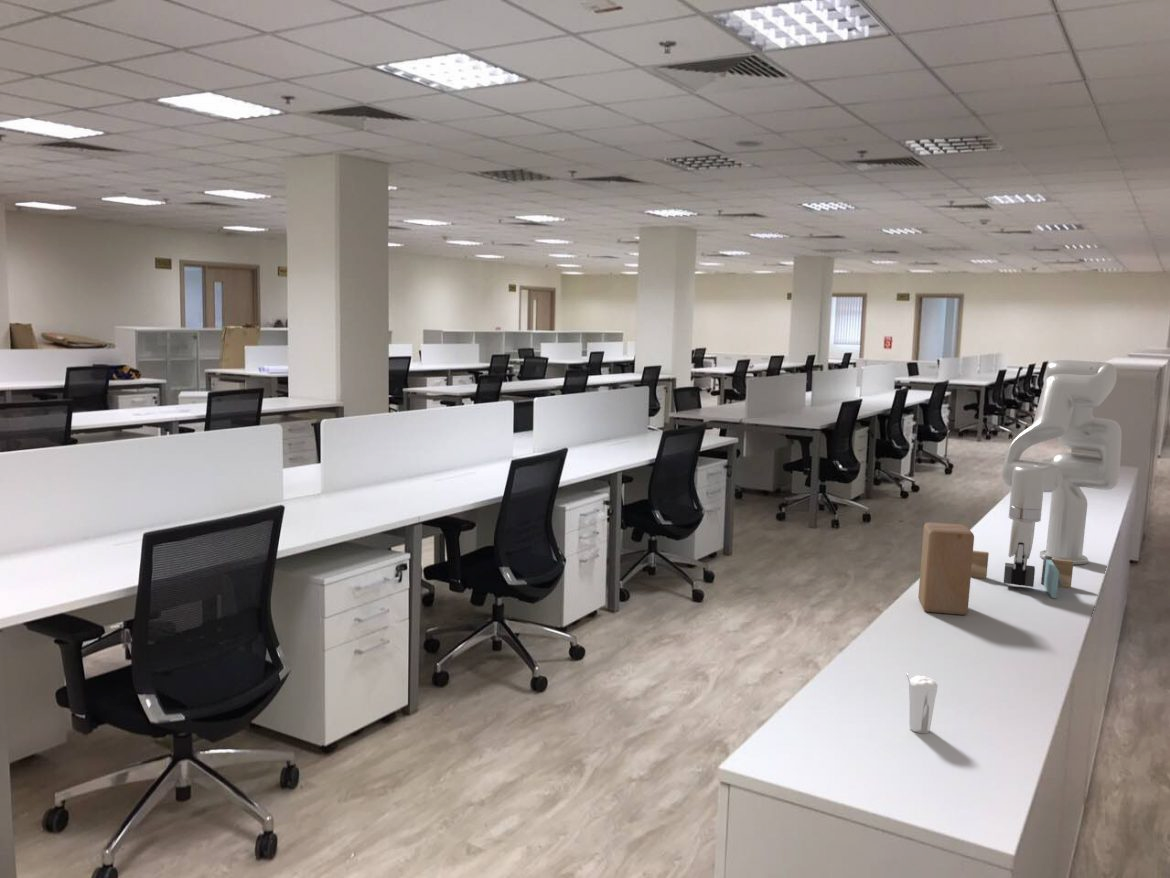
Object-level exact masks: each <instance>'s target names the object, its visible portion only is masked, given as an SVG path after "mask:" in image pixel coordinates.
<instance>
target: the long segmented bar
mask: <svg viewBox="0 0 1170 878" xmlns="http://www.w3.org/2000/svg"><path fill="white" fill-rule="evenodd" d="M1046 559H1047V560H1052V562H1053V563H1054V565H1055V566H1056V568H1057V569H1058V571H1059V579H1064V584H1063V585H1060V584H1058V588H1059V587H1060V588H1070V589H1071V588H1072V581H1073V580H1072V579H1073V571H1074V570H1073V568H1074V564H1073V561H1072V560H1063V559H1053V558H1052V557H1051V556H1044V559H1043V558H1042V571H1041V581H1040V584H1041V585H1043V586H1044V577H1045V567H1046ZM988 566H989V552H988V551H983V550H982V551H979V550H973V557H972V568H971V578H976V579H984V580H987V576H988Z"/></svg>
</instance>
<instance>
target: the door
mask: <svg viewBox="0 0 1170 878" xmlns="http://www.w3.org/2000/svg"><path fill="white" fill-rule="evenodd" d="M1058 584H1060V585H1063V584H1064V579H1059V571H1058V569H1057V568H1056V566H1055V565H1054V563H1053V562H1052V560H1047V559H1046V567H1045V577H1044V585H1043V586H1044V588H1045V589H1046V591H1047V593H1048V594H1049V596H1050V597H1051V598H1053V599H1054V598H1055V599H1057V598H1058V589H1059V586H1058Z"/></svg>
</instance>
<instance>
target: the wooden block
mask: <svg viewBox="0 0 1170 878" xmlns="http://www.w3.org/2000/svg"><path fill="white" fill-rule="evenodd" d="M974 543H975V535H974V532H972V530H970V528H969V527H968V526H967V525H965V524H956V523H944V522H943V523H942V522H929V521H928V522H925V524H923V533H922V545H921V546H922V547H921V557H920V572H919V583H918V584H919V585H918V601H919V603H920V604H921V607H922V609H923V611H924V612H927V613H937V614H949V615H960V616H963V615H967V613H968V611H969V602H970V600H969V599H970V589H971V578H972V577H971V568H972V557H973V551H974V546H975V544H974Z"/></svg>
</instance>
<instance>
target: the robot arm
mask: <svg viewBox="0 0 1170 878" xmlns="http://www.w3.org/2000/svg"><path fill="white" fill-rule="evenodd" d="M1045 371H1046V372H1045V373H1046V374H1045V375H1046V379H1045V380H1044V382H1043V385H1042V389H1041V393H1040V397H1039V401H1038V404H1037V408H1036V412H1035V416H1034V419H1033V423H1032V424H1031V425H1029V426H1028V427H1027V428H1025V429H1024V430H1023V431H1021V432H1020V433H1019V434H1018V435H1017V436H1016V437H1015V438H1014V439H1013V440H1012V441H1011V443H1010V444H1009V446H1008V448H1007V451H1006V454H1005V458H1004V461H1003V464H1002V470H1001V478H1002V482H1003V484H1004V485H1006V486H1008V487H1010V488H1011V489H1010V499H1009V509H1008V518H1009V519H1010V520H1012V522H1011V529H1010V539H1009V549H1008V556H1007V557H1009V558H1012V557H1013V559H1014V560H1013V564H1014V567H1013V569H1012V579H1011V583H1012V584H1011V585H1014V584H1016V585H1015V586H1023V587H1025V586H1024V585H1025V577H1026V570H1025V566H1026V565H1027V563H1028V560H1029V559H1030V556H1031V554H1032V548H1033V543H1034V535H1035V527H1036V523H1040V522H1041V521H1042V518H1041V517H1042V509H1043V500H1044V499H1043V497H1044V493H1051V494H1050V495H1051V496H1050V507H1049V514H1048V527H1047V538H1046V547H1045V550H1042V551H1039V557H1040V558H1041V559H1042V560H1043V559H1044V556H1051V557H1052V558H1053V559H1063V560H1072V561H1073V565H1085V564H1087V563H1088V562H1089V558H1088V557H1087V556H1086V555H1083V552H1084V550H1083V549H1084V544H1085V543H1084V542H1085V541H1084V540H1085V534H1086V533H1085V530H1086V521H1087V512H1088V499H1087V497H1086V495H1085V493H1084V492H1083V490H1082V489H1081V488H1087V489H1095V490H1096V489H1097V490H1102V491H1103V490H1105V491H1109V490H1113V489H1115V488H1116V486H1118V485H1117V484H1118V483H1119V479H1120V471H1121V470H1120V469H1121V454H1122V442H1123V441H1122V437H1123V436H1122V435H1123V434H1122V428H1121V426H1120V424H1119V423H1118V422H1117V421H1116V420H1113V419H1110V418H1101V417H1095V416H1094V414H1093V413H1094V412H1093V409H1094V408H1097V407H1098V406H1099V407H1100V405H1101V404H1102V403H1103V402H1104V400H1105V401H1106V399H1107V397H1108V396H1109V395H1110V393H1111V392H1112V391H1113V389H1114V388H1115V386H1116V383H1117V378H1118V374H1117V369H1116V367H1115V366H1114V365H1113V364H1112V363H1109V362H1105V361H1103V362H1102V361H1091V360H1090V361H1085V360H1073V359H1071V360H1070V359H1058V360H1053V361H1051V362H1048V365H1047V367H1046V370H1045ZM1056 438H1058V442H1059V444H1060V446H1061V447H1063V448H1066V449H1071V450H1077V451H1078V450H1079V451H1088V452H1096V453H1099V455H1096V454H1090V453H1089V454H1088V453H1081V452H1073V451H1072V452H1069V451H1067V452H1065V451H1064V452H1060V453H1057V454H1055V455H1054V456H1053V457H1052V459H1051V462H1050V463H1047V462H1046V463H1045V462H1039V461H1032V460H1023V459H1020V458H1021V457H1022V454H1023V453H1024V452H1025V451H1026V450H1027V449H1029V448H1030V447H1032V446H1034V445H1036V444H1037V445H1038V444H1039V443H1042V442H1046V441H1049V440H1054V439H1056Z"/></svg>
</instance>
